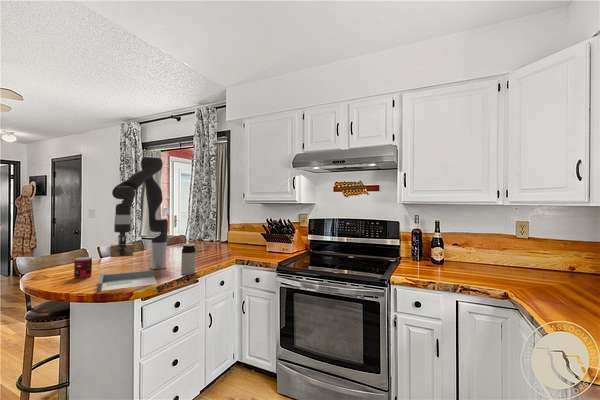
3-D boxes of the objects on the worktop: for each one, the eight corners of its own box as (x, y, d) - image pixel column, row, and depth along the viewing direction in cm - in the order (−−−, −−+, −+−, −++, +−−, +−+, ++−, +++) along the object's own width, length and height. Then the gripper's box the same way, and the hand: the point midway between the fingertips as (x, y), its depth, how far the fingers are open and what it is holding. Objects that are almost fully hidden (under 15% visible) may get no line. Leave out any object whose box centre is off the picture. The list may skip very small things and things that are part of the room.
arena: (100, 282, 153) (100, 274, 153) (153, 276, 167) (154, 269, 167) (97, 291, 136) (97, 283, 137) (157, 284, 150) (157, 277, 150)
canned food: (72, 277, 163) (73, 258, 163) (89, 275, 168) (90, 256, 169) (75, 279, 157) (76, 260, 158) (92, 277, 163) (93, 258, 164)
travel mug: (195, 274, 175) (196, 244, 176) (182, 275, 171) (182, 245, 172) (193, 271, 182) (194, 243, 182) (180, 272, 178) (181, 244, 178)
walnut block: (132, 254, 157) (132, 243, 157) (133, 255, 153) (133, 244, 153) (110, 256, 151) (110, 244, 151) (110, 257, 147) (111, 245, 147)
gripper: (132, 223, 149) (131, 256, 148) (129, 222, 160) (128, 252, 160) (115, 224, 144) (114, 257, 144) (113, 222, 156) (112, 253, 156)
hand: (121, 254), depth 152 cm, fingers closed on walnut block, 5 cm apart
